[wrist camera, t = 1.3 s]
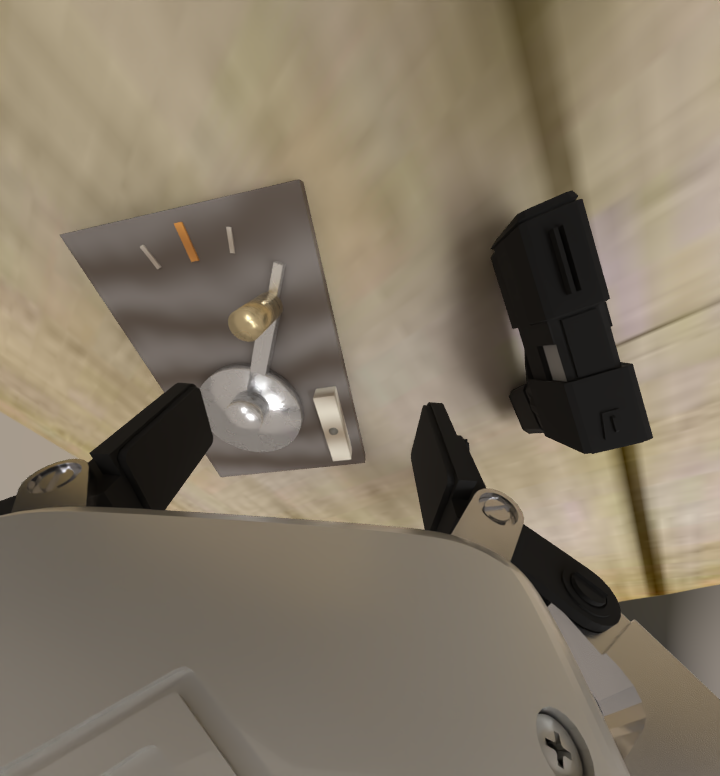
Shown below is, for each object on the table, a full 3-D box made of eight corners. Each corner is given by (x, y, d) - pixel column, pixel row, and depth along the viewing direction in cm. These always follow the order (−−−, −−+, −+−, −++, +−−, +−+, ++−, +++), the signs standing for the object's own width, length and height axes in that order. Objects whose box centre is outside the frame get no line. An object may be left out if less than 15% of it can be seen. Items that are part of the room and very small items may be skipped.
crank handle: (292, 453, 36) (276, 500, 30) (201, 428, 34) (165, 473, 28) (345, 286, 24) (338, 307, 18) (213, 235, 23) (155, 239, 16)
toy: (511, 431, 33) (592, 495, 18) (462, 276, 32) (507, 213, 17) (557, 419, 32) (681, 478, 17) (508, 258, 30) (598, 174, 16)
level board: (75, 234, 24) (29, 235, 21) (303, 182, 22) (291, 174, 19) (225, 469, 41) (212, 490, 38) (365, 454, 38) (364, 476, 35)
